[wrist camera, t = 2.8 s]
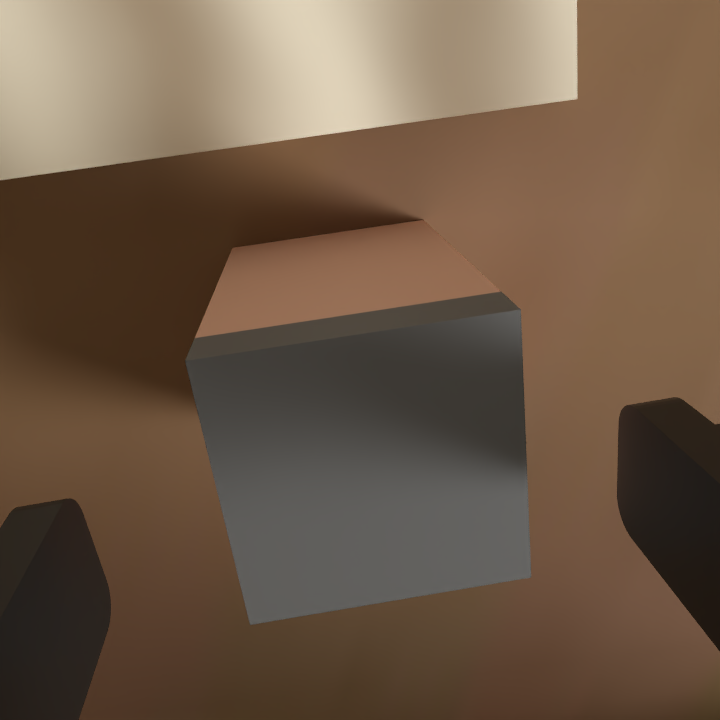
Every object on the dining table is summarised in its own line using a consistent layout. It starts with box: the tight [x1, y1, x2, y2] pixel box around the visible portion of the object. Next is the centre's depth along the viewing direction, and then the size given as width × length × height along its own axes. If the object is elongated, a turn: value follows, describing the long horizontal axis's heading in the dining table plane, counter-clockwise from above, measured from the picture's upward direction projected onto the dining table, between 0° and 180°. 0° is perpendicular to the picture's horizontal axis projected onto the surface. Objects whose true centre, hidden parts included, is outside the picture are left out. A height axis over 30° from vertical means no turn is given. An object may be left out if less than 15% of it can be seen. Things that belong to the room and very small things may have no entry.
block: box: [185, 220, 531, 625], centre depth 14 cm, size 5×5×8 cm
